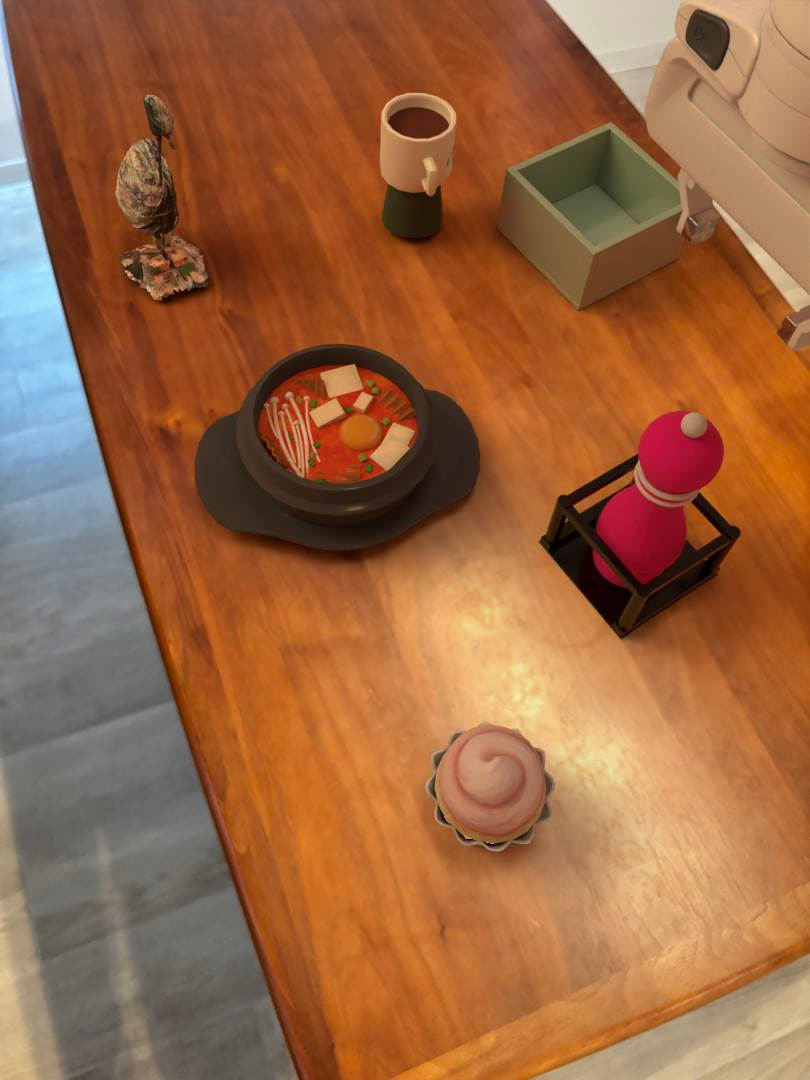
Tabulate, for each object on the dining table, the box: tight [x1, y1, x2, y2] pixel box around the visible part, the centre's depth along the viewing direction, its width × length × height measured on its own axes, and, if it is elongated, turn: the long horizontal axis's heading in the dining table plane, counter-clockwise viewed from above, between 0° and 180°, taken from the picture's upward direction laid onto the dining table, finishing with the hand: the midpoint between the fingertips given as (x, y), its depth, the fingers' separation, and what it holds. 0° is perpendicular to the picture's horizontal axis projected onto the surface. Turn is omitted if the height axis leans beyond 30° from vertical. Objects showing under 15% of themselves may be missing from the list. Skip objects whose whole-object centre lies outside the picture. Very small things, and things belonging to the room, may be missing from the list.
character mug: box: [379, 92, 457, 239], centre depth 100 cm, size 11×7×13 cm, turn 16°
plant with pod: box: [114, 94, 211, 301], centre depth 92 cm, size 8×11×20 cm
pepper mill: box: [593, 410, 725, 588], centre depth 78 cm, size 7×7×20 cm
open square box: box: [496, 121, 687, 311], centre depth 102 cm, size 14×14×8 cm
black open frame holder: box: [538, 453, 742, 640], centre depth 84 cm, size 11×11×8 cm
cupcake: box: [424, 720, 556, 852], centre depth 71 cm, size 9×9×10 cm
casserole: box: [194, 343, 481, 552], centre depth 86 cm, size 25×19×8 cm
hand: (741, 286), depth 60 cm, fingers open, 8 cm apart
